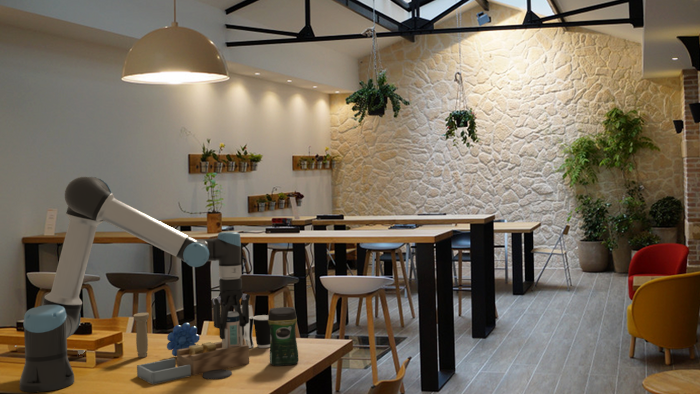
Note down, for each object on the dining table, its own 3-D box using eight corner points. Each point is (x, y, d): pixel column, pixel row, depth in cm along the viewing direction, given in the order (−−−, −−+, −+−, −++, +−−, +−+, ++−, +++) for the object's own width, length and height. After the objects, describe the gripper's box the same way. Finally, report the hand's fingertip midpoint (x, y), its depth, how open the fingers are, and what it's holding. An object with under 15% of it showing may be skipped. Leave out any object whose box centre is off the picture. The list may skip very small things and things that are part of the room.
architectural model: (73, 359, 234) (72, 338, 234) (78, 355, 241) (77, 334, 241) (83, 359, 235) (82, 338, 235) (88, 354, 242) (87, 334, 242)
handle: (152, 354, 238) (150, 312, 237) (146, 359, 231) (145, 316, 231) (138, 354, 238) (137, 312, 237) (132, 359, 231) (131, 316, 231)
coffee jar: (297, 359, 225) (296, 304, 225) (299, 365, 217) (297, 308, 217) (269, 361, 224) (267, 306, 224) (269, 367, 216) (267, 310, 216)
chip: (195, 357, 213) (194, 348, 213) (189, 355, 217) (189, 346, 217) (203, 355, 215) (203, 346, 215) (197, 353, 218) (197, 344, 218)
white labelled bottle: (233, 345, 227) (232, 310, 227) (243, 347, 224) (242, 311, 224) (222, 348, 224) (221, 312, 224) (232, 350, 221) (231, 314, 221)
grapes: (203, 353, 237) (202, 319, 237) (198, 358, 230) (197, 323, 230) (170, 354, 237) (169, 320, 237) (165, 358, 231) (163, 324, 230)
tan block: (207, 354, 216) (207, 345, 216) (202, 352, 219) (201, 343, 219) (216, 353, 218) (215, 344, 218) (210, 351, 221) (210, 342, 221)
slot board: (193, 375, 209) (193, 356, 209) (177, 368, 218) (176, 349, 218) (249, 363, 222) (248, 345, 221) (231, 356, 231) (230, 339, 231)
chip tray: (152, 384, 200) (152, 372, 200) (137, 376, 210) (136, 365, 210) (190, 376, 208) (190, 364, 208) (174, 368, 217) (174, 358, 217)
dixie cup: (278, 346, 244) (278, 317, 244) (260, 350, 239) (259, 320, 239) (267, 342, 250) (267, 314, 250) (249, 345, 245) (249, 316, 245)
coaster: (211, 381, 202) (210, 379, 202) (197, 375, 209) (197, 373, 209) (237, 375, 208) (237, 373, 208) (223, 369, 215) (223, 367, 215)
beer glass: (233, 346, 246) (231, 306, 246) (252, 343, 249) (249, 303, 248) (238, 350, 240) (236, 309, 239) (257, 347, 242) (254, 306, 242)
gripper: (211, 281, 215) (213, 353, 216) (259, 276, 227) (260, 344, 227) (201, 279, 221) (203, 349, 222) (247, 274, 233) (249, 340, 233)
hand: (232, 346), depth 224 cm, fingers closed on white labelled bottle, 5 cm apart
